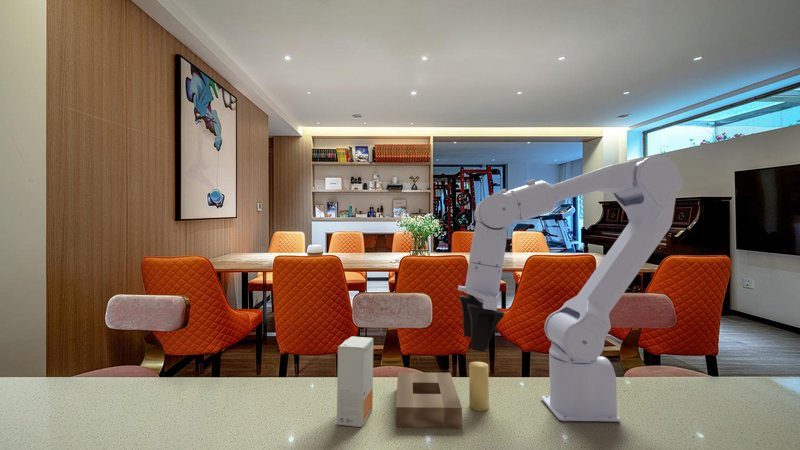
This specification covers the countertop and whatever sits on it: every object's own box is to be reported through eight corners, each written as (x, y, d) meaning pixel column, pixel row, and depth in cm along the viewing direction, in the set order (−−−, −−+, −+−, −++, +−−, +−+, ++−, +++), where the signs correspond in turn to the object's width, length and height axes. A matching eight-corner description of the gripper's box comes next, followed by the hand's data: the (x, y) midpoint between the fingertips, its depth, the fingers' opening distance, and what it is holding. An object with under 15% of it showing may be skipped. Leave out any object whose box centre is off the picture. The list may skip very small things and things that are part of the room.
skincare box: (362, 428, 53) (363, 348, 54) (336, 425, 54) (336, 346, 55) (373, 409, 59) (374, 337, 60) (349, 407, 60) (350, 335, 60)
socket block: (450, 388, 67) (450, 372, 67) (462, 428, 53) (461, 407, 53) (397, 388, 68) (397, 372, 68) (395, 427, 54) (395, 407, 54)
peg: (486, 402, 62) (486, 361, 62) (490, 411, 59) (490, 368, 59) (468, 402, 62) (467, 361, 62) (471, 411, 59) (471, 368, 59)
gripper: (456, 258, 68) (445, 328, 68) (470, 264, 54) (456, 353, 54) (492, 264, 68) (482, 334, 68) (516, 271, 54) (503, 360, 53)
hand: (473, 343), depth 61 cm, fingers open, 7 cm apart
